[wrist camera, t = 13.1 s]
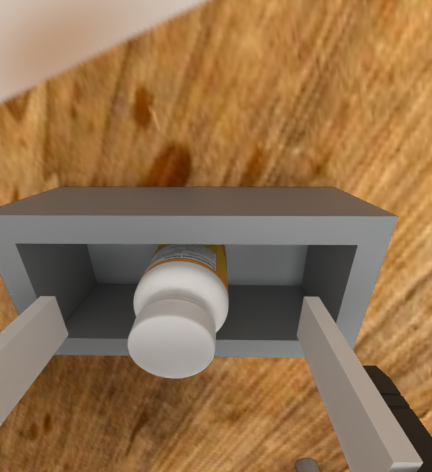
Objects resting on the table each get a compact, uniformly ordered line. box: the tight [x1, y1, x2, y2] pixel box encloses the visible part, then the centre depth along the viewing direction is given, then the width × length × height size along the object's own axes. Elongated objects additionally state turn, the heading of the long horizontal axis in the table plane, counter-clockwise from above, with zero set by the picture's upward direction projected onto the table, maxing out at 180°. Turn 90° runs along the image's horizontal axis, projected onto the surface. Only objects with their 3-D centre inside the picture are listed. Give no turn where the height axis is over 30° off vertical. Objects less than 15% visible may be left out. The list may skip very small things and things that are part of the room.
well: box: [0, 187, 398, 358], centre depth 17 cm, size 22×10×7 cm, turn 90°
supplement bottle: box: [127, 244, 229, 378], centre depth 15 cm, size 5×5×10 cm
